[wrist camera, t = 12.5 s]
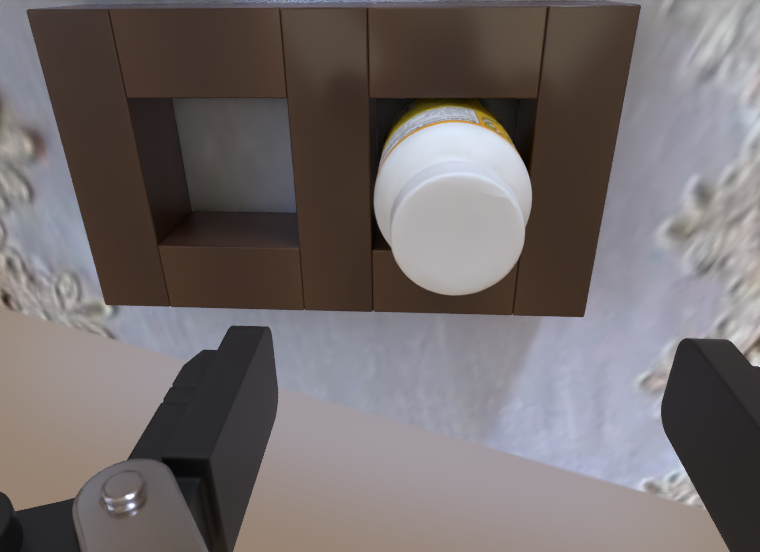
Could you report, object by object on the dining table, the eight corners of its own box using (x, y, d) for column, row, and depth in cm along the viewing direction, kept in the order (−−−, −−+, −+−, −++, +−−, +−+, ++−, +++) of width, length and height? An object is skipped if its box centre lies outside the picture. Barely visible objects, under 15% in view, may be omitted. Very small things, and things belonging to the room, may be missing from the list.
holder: (143, 265, 29) (105, 305, 25) (84, 4, 23) (24, 9, 20) (563, 274, 28) (584, 317, 24) (606, 0, 22) (641, 4, 19)
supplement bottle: (376, 95, 24) (352, 158, 16) (503, 77, 24) (548, 134, 15) (392, 212, 27) (380, 322, 18) (509, 199, 26) (550, 306, 18)
